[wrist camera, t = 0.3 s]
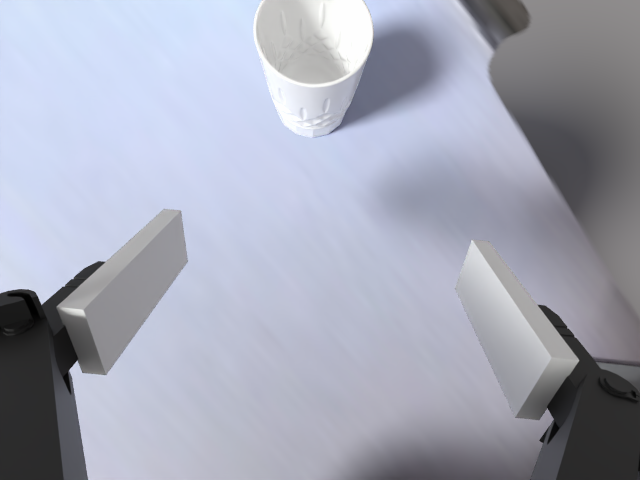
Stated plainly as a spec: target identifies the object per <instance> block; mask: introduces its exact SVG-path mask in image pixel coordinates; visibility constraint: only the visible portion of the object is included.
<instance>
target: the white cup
mask: <svg viewBox="0 0 640 480" xmlns="http://www.w3.org/2000/svg"><path fill="white" fill-rule="evenodd" d="M373 36H374V29H373V22H372V17H371V14H370V12H369V9H368V7H367V6H366V4H365V2H364V1H363V0H262V1H261V3H260V5H259V7H258V9H257V12H256V15H255V19H254V40H255V44H256V47H257V51H258V54H259V57H260V61H261V64H262V68H263V71H264V75H265V78H266V81H267V85H268V88H269V91H270V94H271V96H272V99H273V102H274V104H275V107H276V110H277V113H278V114H279V116H280V118H281V120H282V122H283V124H284V125H285V126H286V127H287V128H289V129H290V130H291V131H293V132H294V133H296V134H297V135H302V136H306V137H311V138H314V137H318V136H322V135H327V134H329V133H330V132H332V131H333V130H334V129H335V128H336V127H338V126H339V125H340V124H341V122H342V120H343V118H344V116H345V113H346V111H347V109H348V107H349V106H350V104H351V101H352V99H353V96H354V94H355V91H356V89H357V87H358V84H359V81H360V78H361V76H362V73H363V70H364V67H365V64H366V62H367V59H368V56H369V53H370V51H371V48H372V44H373Z"/></svg>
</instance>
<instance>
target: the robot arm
mask: <svg viewBox="0 0 640 480" xmlns="http://www.w3.org/2000/svg"><path fill="white" fill-rule="evenodd" d="M187 262H188V260H187V252H186V245H185V237H184V230H183V222H182V214H181V211H180V210H170V209H163V210H162V211H161V212H160V213H159V214H158V215H157V216H156V217H155V218H154V219H152V220H151V221H150V222H149V223H148V224H147V225H146V226H145V227H144V228H143V229H141V230H140V231H139V232H138V233H137V234H136V235H135V236H134V237H133V238H132V239H130V240H129V241H128V242H127V243H126V244H125V245H124V246H123V247H122V248H121V249H119V250H118V251H117V252H116V253H115V254H114V255H113V256H112V257H111V258H110V259H108V260H107V261H106V262H101V261H98V262H96V263H94V264H92V265H90V266H88V267H86V268H84V269H83V270H82V271H81V272H80V273H78V274H77V275H76V276H75V277H74V279H71V280H70V281H69V282H68V283H67V284H66V285H65V287H62V288H61V289H60V290H59V291H57V292H56V293H55V294H54V295H53V296H52V297H50V298H49V299H48V300H47V301H46V302H45V303H43V304H42V305H41V303H40V301H39V299H38V296H37V295H36V293H35V292H34V291H31V290H25V289H18V290H12V291H7V292H4V293H1V294H0V480H88V477H87V471H86V464H85V458H84V452H83V445H82V439H81V433H80V426H79V420H78V414H77V407H76V401H75V395H74V388H73V382H72V376H71V374H70V372H69V370H70V368H71V367H72V366H73V365H74V364H75V362H76V361H77V360H78V363H79V365H80V368H81V370H82V373H90V374H100V375H107V373H108V372H109V370H110V369H111V368H112V366H113V365H114V363H115V362H116V361H117V359H118V358H119V357H120V355H121V354H122V352H123V351H124V350H125V348H126V347H127V345H128V344H129V343H130V341H131V340H132V338H133V337H134V336H135V334H136V333H137V331H138V330H139V329H140V327H141V326H142V325H143V323H144V322H145V320H146V319H147V318H148V316H149V315H150V313H151V312H152V311H153V309H154V308H155V306H156V305H157V304H158V302H159V301H160V299H161V298H162V297H163V295H164V294H165V293H166V291H167V290H168V288H169V287H170V286H171V284H172V283H173V281H174V280H175V279H176V277H177V276H178V274H179V273H180V272H181V270H182V269H183V268H184V266H185V265H186V263H187ZM455 290H456V292H457V294H458V297H459V299H460V301H461V303H462V305H463V307H464V309H465V312H466V314H467V316H468V318H469V320H470V322H471V324H472V327H473V329H474V331H475V333H476V335H477V337H478V339H479V341H480V344H481V346H482V348H483V350H484V352H485V354H486V356H487V359H488V361H489V363H490V365H491V367H492V369H493V371H494V374H495V376H496V378H497V380H498V382H499V384H500V386H501V389H502V391H503V393H504V395H505V397H506V399H507V401H508V403H509V406H510V408H511V410H512V412H513V414H514V416H515V418H524V419H533V420H540V418H541V417H542V415H543V414H544V412H545V411H546V409H547V408H548V410H549V411H550V413H551V415H552V417H553V418H554V421H553V422H552V423H551V425H550V426H549V428H548V429H547V430H546V432H545V433H544V435H543V436H542V438H541V439H540V440H539V441H541V442H542V443H543V446H542V448H541V451H540V454H539V457H538V460H537V462H536V465H535V468H534V471H533V474H532V476H531V479H530V480H640V392H639V391H638V390H637V388H635V387H634V386H633V385H632V384H631V383H630V382H629V381H627V380H626V379H624V378H622V377H621V376H619V375H618V374H615V373H613V372H610V371H608V370H604V369H601V368H600V367H599V365H598V364H597V363H596V362H595V361H594V359H593V358H592V357H591V356H590V354H589V353H588V352H587V351H586V349H585V348H584V347H583V346H582V344H581V343H580V342H579V341H578V339H577V338H574V334H573V333H572V332H571V331H570V330H569V329H567V326H566V325H565V323H564V322H563V321H562V320H561V318H560V317H559V316H558V315H557V314H555V313H554V312H553V311H552V310H550V309H549V308H548V307H546V306H544V305H537V304H536V303H535V301H534V300H533V299H532V297H531V296H530V295H529V293H528V292H527V291H526V289H525V288H524V287H523V285H522V284H521V283H520V281H519V280H518V279H517V278H516V276H515V275H514V274H513V272H512V271H511V270H510V268H509V267H508V266H507V264H506V263H505V262H504V260H503V259H502V258H501V256H500V255H499V254H498V252H497V251H496V250H495V249H494V247H493V246H492V245H491V243H490V242H489V241H480V240H472V241H471V244H470V247H469V250H468V252H467V255H466V258H465V261H464V264H463V267H462V269H461V272H460V275H459V278H458V281H457V284H456V286H455Z"/></svg>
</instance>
